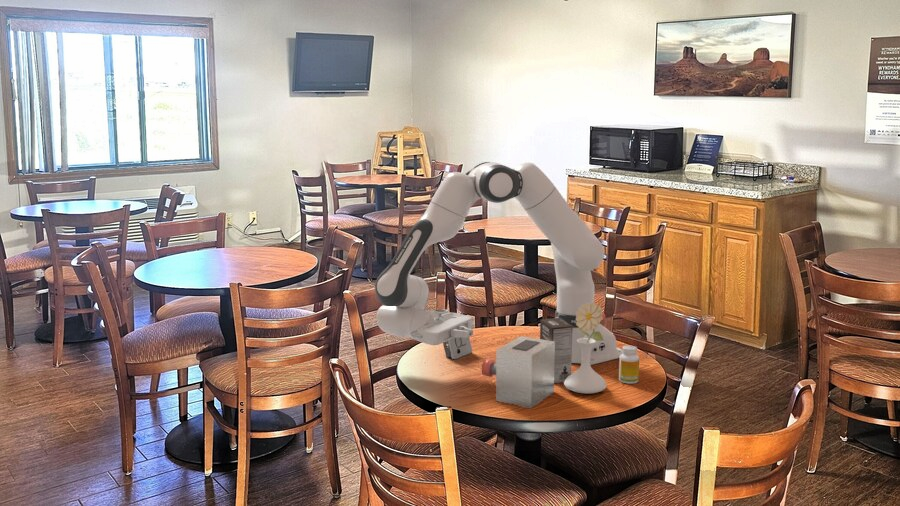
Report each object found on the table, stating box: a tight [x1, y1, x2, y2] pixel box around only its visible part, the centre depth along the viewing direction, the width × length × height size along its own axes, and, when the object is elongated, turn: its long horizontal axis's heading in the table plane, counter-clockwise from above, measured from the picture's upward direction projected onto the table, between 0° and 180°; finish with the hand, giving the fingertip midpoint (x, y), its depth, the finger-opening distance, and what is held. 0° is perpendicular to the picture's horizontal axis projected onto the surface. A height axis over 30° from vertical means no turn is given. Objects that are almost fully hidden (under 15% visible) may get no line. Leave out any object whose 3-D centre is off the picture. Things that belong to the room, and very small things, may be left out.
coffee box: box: [539, 317, 573, 384], centre depth 233 cm, size 9×6×16 cm
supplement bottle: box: [618, 344, 640, 385], centre depth 231 cm, size 5×5×10 cm
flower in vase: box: [563, 301, 608, 395], centre depth 222 cm, size 13×11×25 cm
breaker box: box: [495, 335, 555, 409], centre depth 219 cm, size 10×14×14 cm
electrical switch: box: [442, 337, 473, 360], centre depth 255 cm, size 9×5×9 cm, turn 141°
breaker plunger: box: [481, 358, 496, 378], centre depth 222 cm, size 10×4×4 cm, turn 59°
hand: (470, 333), depth 228 cm, fingers closed
